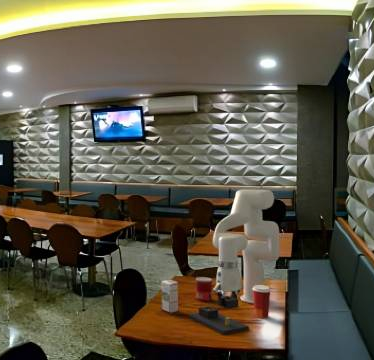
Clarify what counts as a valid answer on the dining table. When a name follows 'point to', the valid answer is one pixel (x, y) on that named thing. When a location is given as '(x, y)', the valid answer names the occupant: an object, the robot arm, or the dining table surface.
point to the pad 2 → (230, 302)
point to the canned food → (203, 289)
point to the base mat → (220, 323)
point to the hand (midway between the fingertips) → (227, 304)
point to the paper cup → (261, 300)
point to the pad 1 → (208, 312)
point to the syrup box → (169, 296)
